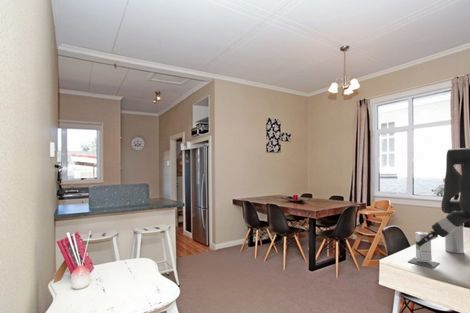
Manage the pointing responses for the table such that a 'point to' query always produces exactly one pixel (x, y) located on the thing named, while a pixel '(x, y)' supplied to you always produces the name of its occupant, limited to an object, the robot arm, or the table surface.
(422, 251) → the syrup box
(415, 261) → the mat
